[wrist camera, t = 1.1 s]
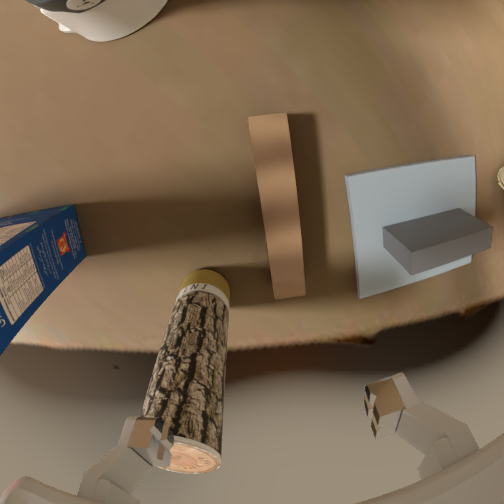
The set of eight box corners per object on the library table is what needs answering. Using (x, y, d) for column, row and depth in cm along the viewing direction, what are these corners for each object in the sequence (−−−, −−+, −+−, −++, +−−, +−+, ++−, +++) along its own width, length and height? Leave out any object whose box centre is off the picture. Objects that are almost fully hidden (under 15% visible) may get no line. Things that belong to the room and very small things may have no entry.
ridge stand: (357, 294, 40) (380, 333, 32) (344, 175, 33) (375, 192, 25) (466, 259, 39) (498, 285, 30) (469, 154, 31) (511, 167, 23)
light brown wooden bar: (247, 118, 30) (247, 117, 27) (281, 114, 30) (286, 112, 27) (272, 283, 40) (274, 299, 36) (300, 279, 39) (305, 295, 36)
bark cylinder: (240, 288, 39) (239, 462, 17) (208, 316, 41) (187, 477, 19) (203, 257, 37) (160, 430, 15) (172, 288, 39) (118, 449, 16)
